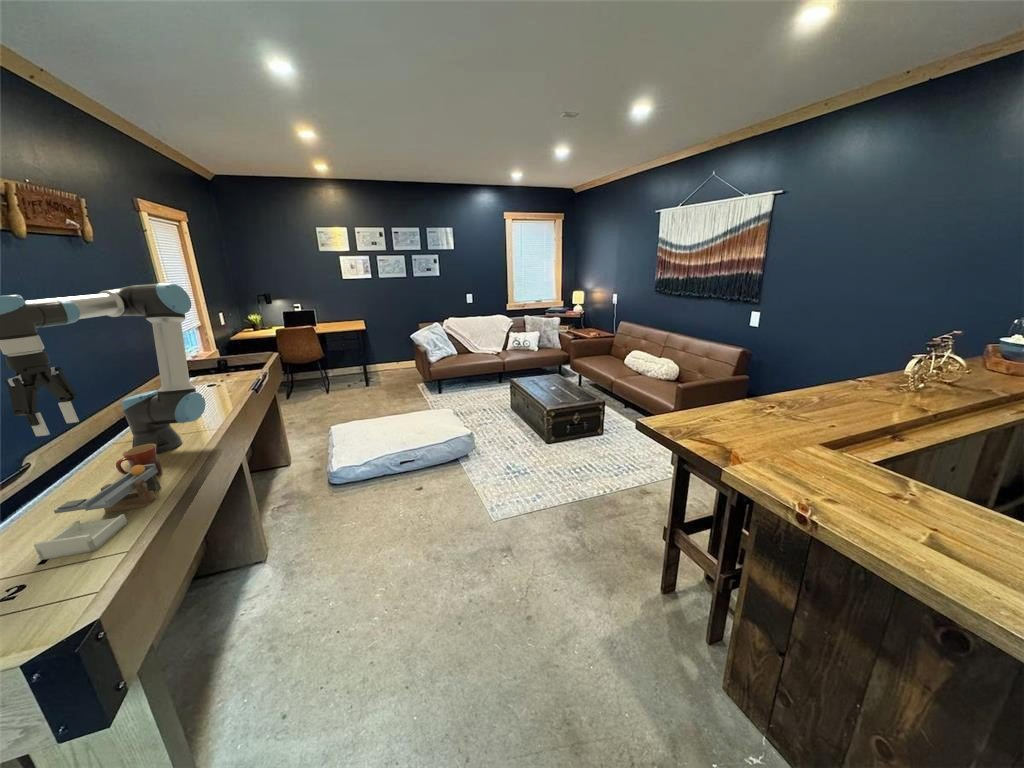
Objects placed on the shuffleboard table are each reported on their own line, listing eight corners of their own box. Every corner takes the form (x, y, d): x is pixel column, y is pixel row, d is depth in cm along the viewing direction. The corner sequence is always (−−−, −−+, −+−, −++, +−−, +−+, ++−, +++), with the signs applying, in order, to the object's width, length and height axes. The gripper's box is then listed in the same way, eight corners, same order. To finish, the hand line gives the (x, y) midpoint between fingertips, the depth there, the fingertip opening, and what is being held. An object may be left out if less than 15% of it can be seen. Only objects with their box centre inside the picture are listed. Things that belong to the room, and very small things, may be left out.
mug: (152, 469, 143) (143, 443, 140) (172, 469, 141) (162, 443, 138) (115, 487, 132) (103, 459, 129) (135, 488, 130) (124, 460, 127)
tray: (80, 530, 109) (73, 516, 108) (127, 523, 111) (122, 509, 110) (41, 559, 98) (33, 544, 97) (94, 551, 100) (87, 536, 99)
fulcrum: (132, 491, 128) (124, 471, 126) (171, 486, 130) (164, 465, 128) (104, 512, 117) (95, 490, 115) (148, 506, 119) (139, 484, 117)
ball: (137, 473, 126) (134, 463, 125) (149, 471, 127) (146, 462, 126) (130, 478, 123) (126, 468, 122) (142, 476, 123) (138, 467, 122)
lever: (108, 478, 126) (105, 470, 125) (158, 471, 128) (154, 463, 127) (51, 515, 107) (47, 506, 106) (110, 507, 110) (106, 497, 109)
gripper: (45, 346, 118) (75, 416, 125) (-36, 363, 98) (5, 446, 104) (74, 344, 119) (102, 413, 126) (0, 360, 99) (38, 442, 105)
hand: (58, 428), depth 115 cm, fingers open, 9 cm apart
